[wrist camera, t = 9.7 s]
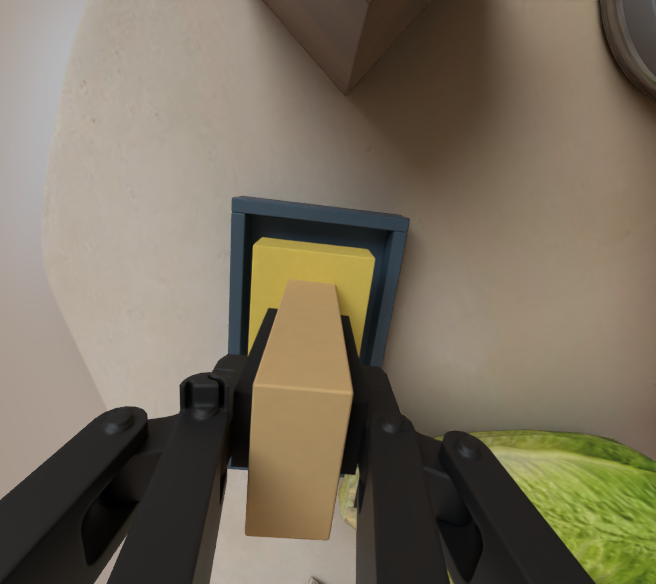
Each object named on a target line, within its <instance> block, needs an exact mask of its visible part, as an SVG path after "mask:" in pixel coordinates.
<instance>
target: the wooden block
mask: <svg viewBox="0 0 656 584" xmlns="http://www.w3.org/2000/svg"><path fill="white" fill-rule="evenodd" d="M430 1H431V0H264V2H265V3H266V4H267V5H268V6H269V7H270V9H271V10H272V11H273V12H274V13H275V14H276V16H277V17H278V18H279V19H280V20H281V21H282V23H283V24H284V25H285V26H286V27H287V28H288V30H289V31H290V32H291V33H292V34H293V35H294V37H295V38H296V39H297V40H298V41H299V42H300V44H301V45H302V46H303V47H304V48H305V49H306V51H307V52H308V53H309V54H310V55H311V56H312V58H313V59H314V60H315V61H316V62H317V63H318V65H319V66H320V67H321V68H322V69H323V71H324V72H325V73H326V74H327V75H328V76H329V78H330V79H331V80H332V81H333V82H334V83H335V85H336V86H337V87H338V88H339V89H340V90H341V92H342V93H343V94H344V95H346V94H347V93H348V92H349V91H350V90H351V89H352V88H353V87H354V86H355V84H356V83H357V82H358V81H359V80H360V79H361V78H362V77H363V75H364V74H365V73H366V72H367V71H368V70H369V69H370V68H371V67H372V65H373V64H374V63H375V62H376V61H377V60H378V59H379V58H380V56H381V55H382V54H383V53H384V52H385V51H386V50H387V49H388V48H389V46H390V45H391V44H392V43H393V42H394V41H395V40H396V39H397V38H398V36H399V35H400V34H401V33H402V32H403V31H404V30H405V29H406V27H407V26H408V25H409V24H410V23H411V22H412V21H413V20H414V19H415V17H416V16H417V15H418V14H419V13H420V12H421V11H422V10H423V8H424V7H425V6H426V5H427V4H428V3H429V2H430Z"/></svg>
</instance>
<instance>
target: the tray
mask: <svg viewBox="0 0 656 584" xmlns="http://www.w3.org/2000/svg"><path fill="white" fill-rule="evenodd" d="M409 221H410V219H409V218H406V217H403V216H401V215H396V214H388V213H379V212H371V211H363V210H355V209H346V208H338V207H330V206H322V205H313V204H305V203H297V202H288V201H280V200H272V199H264V198H255V197H247V196H240V197H233V198H232V217H231V258H230V299H229V340H228V354H235V355H246V356H248V344H249V322H250V301H251V279H252V258H253V245H254V244H255V243H256V242H257V241H258V240H260V239H261V238H262V237H265V238H274V239H283V240H291V241H300V242H309V243H318V244H327V245H335V246H344V247H353V248H362V249H368V250H369V251H370V253H371V254H372V255H373V256H374V258H375V265H374V271H373V277H372V283H371V289H370V295H369V301H368V307H367V313H366V319H365V325H364V331H363V337H362V343H361V349H360V355H359V361H360V365H366V366H377V367H380V368H381V366H382V361H383V356H384V351H385V346H386V341H387V335H388V330H389V325H390V320H391V315H392V310H393V304H394V299H395V294H396V289H397V284H398V279H399V273H400V268H401V263H402V258H403V253H404V247H405V242H406V237H407V233H406V232H407V231H408V227H409ZM227 469H239V470H248V468H245V467H231V458H230V461H229V464H228V467H227ZM344 476H345V474H340V477H344Z"/></svg>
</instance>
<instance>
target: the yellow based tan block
mask: <svg viewBox="0 0 656 584" xmlns="http://www.w3.org/2000/svg"><path fill="white" fill-rule="evenodd" d="M374 265H375V258H374V256H373V255H372V254H371V253H370V251H369V250H368V249H362V248H353V247H344V246H335V245H327V244H318V243H309V242H300V241H291V240H283V239H274V238H265V237H262V238H261V239H260V240H258V241H257V242H256V243H255V244H254V245H253V258H252V279H251V301H250V322H249V344H248V355H249V352H250V350H251V348H252V345H253V343H254V340H255V338H256V336H257V333H258V331H259V329H260V326H261V324H262V321H263V319H264V317H265V314H266V312H267V309H268V308H276V309H278V311H277V314H276V317H275V320H274V323H273V326H272V329H271V332H270V335H269V338H268V341H267V344H266V347H265V350H264V353H263V356H262V359H261V362H260V365H259V368H258V371H257V374H256V377H255V380H254V383H253V392H252V411H251V430H250V448H249V467H248V485H247V504H246V523H245V535H246V536H258V537H275V538H293V539H311V540H329V537H330V532H331V526H332V520H333V514H334V508H335V502H336V496H337V490H338V484H339V478H340V472H341V466H342V460H343V454H344V448H345V442H346V436H347V430H348V424H349V418H350V412H351V406H352V400H353V394H354V393H353V387H352V381H351V375H350V369H349V363H348V357H347V351H346V345H345V339H344V333H343V327H342V321H341V315H346V316H349V318H350V322H351V327H352V331H353V335H354V340H355V344H356V348H357V353H358V357H359V355H360V349H361V343H362V337H363V331H364V325H365V319H366V313H367V307H368V301H369V295H370V289H371V283H372V277H373V271H374Z"/></svg>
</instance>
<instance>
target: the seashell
mask: <svg viewBox="0 0 656 584" xmlns="http://www.w3.org/2000/svg"><path fill="white" fill-rule="evenodd" d="M309 584H319V583H318V582H317V581H316V580H314V579H313V578H310V580H309Z"/></svg>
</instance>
